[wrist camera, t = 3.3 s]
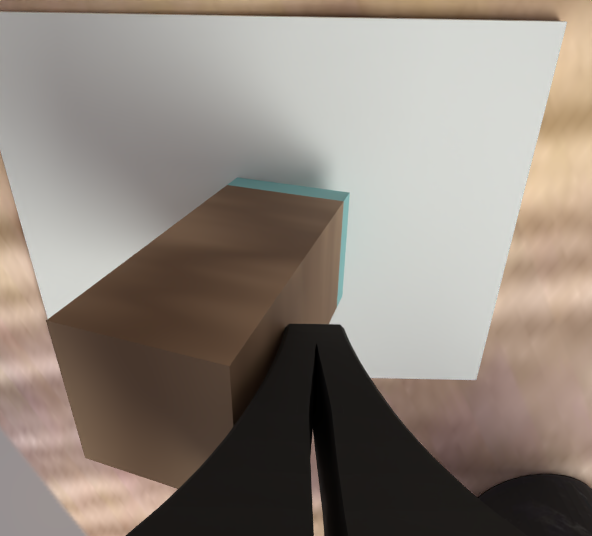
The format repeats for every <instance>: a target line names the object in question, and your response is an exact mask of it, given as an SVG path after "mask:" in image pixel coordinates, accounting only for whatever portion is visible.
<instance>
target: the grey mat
mask: <svg viewBox="0 0 592 536" xmlns="http://www.w3.org/2000/svg"><path fill="white" fill-rule="evenodd" d="M566 24H567V22H565V21H538V20H479V19H420V18H361V17H302V16H244V15H185V14H126V13H67V12H8V11H0V151H1V155H2V158H3V162H4V165H5V169H6V172H7V176H8V180H9V183H10V187H11V190H12V194H13V197H14V201H15V204H16V208H17V211H18V215H19V219H20V222H21V226H22V229H23V233H24V236H25V240H26V243H27V247H28V250H29V254H30V258H31V261H32V265H33V268H34V272H35V275H36V279H37V282H38V286H39V289H40V293H41V297H42V300H43V304H44V307H45V311H46V314H47V318H48V319H49V318H50V317H51V316H53V315H54V314H55V313H57V312H58V311H59V310H61V309H62V308H63V307H65V306H66V305H67V304H69V303H70V302H71V301H73V300H74V299H75V298H77V297H78V296H79V295H81V294H82V293H83V292H85V291H86V290H87V289H89V288H90V287H91V286H93V285H94V284H95V283H97V282H98V281H99V280H101V279H102V278H103V277H105V276H106V275H107V274H109V273H110V272H111V271H113V270H114V269H116V268H117V267H118V266H120V265H121V264H122V263H124V262H125V261H126V260H128V259H129V258H130V257H132V256H133V255H134V254H136V253H137V252H138V251H140V250H141V249H142V248H144V247H145V246H146V245H148V244H149V243H150V242H152V241H153V240H154V239H156V238H157V237H158V236H160V235H161V234H162V233H164V232H165V231H166V230H168V229H169V228H170V227H172V226H173V225H174V224H176V223H177V222H178V221H180V220H181V219H182V218H184V217H185V216H186V215H188V214H189V213H190V212H192V211H193V210H194V209H196V208H197V207H198V206H200V205H201V204H202V203H204V202H205V201H206V200H208V199H209V198H210V197H212V196H213V195H214V194H216V193H217V192H218V191H220V190H221V189H222V188H224V187H225V186H226V185H228V184H229V183H230V182H232V181H233V180H234V179H236V178H237V177H238V178H246V179H253V180H260V181H268V182H275V183H283V184H290V185H297V186H305V187H312V188H320V189H327V190H335V191H342V192H349V193H350V197H349V211H348V225H347V238H346V252H345V266H344V280H343V294H342V298H341V300H340V302H339V304H338V306H337V308H336V310H335V312H334V314H333V316H332V319H331V321H330V323H329V324H340V325H341V326H342V327H343V328H344V329H345V332H346V334H347V337H348V339H349V341H350V343H351V345H352V347H353V349H354V351H355V353H356V355H357V357H358V358H359V360H360V362H361V364H362V365H363V367H364V369H365V370H366V372H367V373H368V375H369V377H370V378H400V379H451V380H476V379H477V375H478V371H479V367H480V363H481V359H482V355H483V351H484V347H485V343H486V339H487V335H488V331H489V327H490V324H491V320H492V316H493V312H494V308H495V304H496V300H497V296H498V292H499V288H500V284H501V280H502V276H503V272H504V268H505V264H506V261H507V257H508V253H509V249H510V245H511V241H512V237H513V233H514V229H515V225H516V221H517V217H518V213H519V209H520V205H521V202H522V198H523V194H524V190H525V186H526V182H527V178H528V174H529V170H530V166H531V162H532V158H533V154H534V150H535V146H536V142H537V139H538V135H539V131H540V127H541V123H542V119H543V115H544V111H545V107H546V103H547V99H548V95H549V91H550V87H551V83H552V79H553V76H554V72H555V68H556V64H557V60H558V56H559V52H560V48H561V44H562V40H563V36H564V32H565V28H566Z"/></svg>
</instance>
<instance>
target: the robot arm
mask: <svg viewBox="0 0 592 536" xmlns="http://www.w3.org/2000/svg"><path fill="white" fill-rule="evenodd" d="M312 431H313V434H314V443H315V452H316V460H317V469H318V477H319V485H320V494H321V502H322V511H323V523H324V536H527V535H526V534H524V533H523V532H522V531H520V530H519V529H518V528H516V527H515V526H513V525H512V524H511V523H509V522H508V521H507V520H505V519H504V518H502V517H501V516H500V515H498V514H497V513H496V512H494V511H493V510H492V509H491V508H489V507H488V506H487V505H486V504H484V503H483V502H482V501H481V500H480V499H478V498H477V497H476V496H475V495H474V494H472V493H471V492H470V491H469V490H468V489H467V488H466V487H464V486H463V485H462V484H461V483H460V482H459V481H458V480H457V479H456V478H455V477H454V476H453V475H452V474H451V473H449V472H448V471H447V470H446V469H445V468H444V467H443V466H442V465H441V464H440V463H439V462H438V461H437V460H436V459H435V458H434V457H433V456H432V455H431V454H430V453H429V452H428V451H427V450H426V449H425V448H424V447H423V446H422V444H421V443H420V442H419V441H418V440H417V439H416V438H415V437H414V436H413V434H412V433H411V432H410V431H409V430H408V429H407V427H406V426H405V425H404V424H403V423H402V421H401V420H400V419H399V418H398V416H397V415H396V414H395V413H394V411H393V410H392V409H391V407H390V406H389V404H388V403H387V402H386V400H385V399H384V398H383V396H382V395H381V393H380V392H379V390H378V389H377V388H376V386H375V385H374V383H373V381H372V380H371V378H370V377H369V375H368V373H367V372H366V370H365V369H364V367H363V365H362V364H361V362H360V360H359V358H358V357H357V355H356V353H355V351H354V349H353V347H352V345H351V343H350V341H349V339H348V337H347V334H346V332H345V329H344V328H343V327H342V326H341V325H340V324H289V325H287V326H286V327H285V330H284V335H283V338H282V341H281V344H280V346H279V349H278V351H277V354H276V356H275V358H274V360H273V362H272V364H271V366H270V368H269V370H268V372H267V374H266V376H265V378H264V380H263V382H262V384H261V385H260V387H259V389H258V390H257V392H256V394H255V395H254V397H253V398H252V400H251V402H250V403H249V405H248V407H247V408H246V410H245V411H244V413H243V414H242V415H241V417H240V418H239V420H238V421H237V423H236V424H235V425H234V427H233V428H232V429H231V431H230V432H229V433H228V435H227V436H226V437H225V438H224V440H223V441H222V442H221V443H220V444H219V446H218V447H217V448H216V449H215V450H214V452H213V453H212V454H211V455H210V456H209V458H208V459H207V460H206V461H205V462H204V463H203V464H202V465H201V466H200V468H199V469H198V470H197V471H196V472H195V473H194V474H193V475H192V476H191V477H190V478H189V479H188V480H187V481H186V482H185V483H184V484H183V485H182V486H181V487H180V488H179V489H178V490H177V491H176V492H175V493H174V494H173V495H172V496H171V497H170V498H169V499H168V500H166V501H165V502H164V503H163V504H162V505H161V506H160V507H159V508H158V509H156V510H155V511H154V512H153V513H152V514H151V515H149V516H148V517H147V518H146V519H145V520H144V521H142V522H141V523H140V524H139V525H138V526H136V527H135V528H134V529H133V530H132V531H131V532H129V533H128V534H127V535H126V536H314V532H313V512H312V489H311V464H310V455H311V443H312Z"/></svg>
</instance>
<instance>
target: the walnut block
mask: <svg viewBox="0 0 592 536" xmlns="http://www.w3.org/2000/svg"><path fill="white" fill-rule="evenodd" d="M349 197H350V193H349V192H342V191H335V190H327V189H320V188H312V187H305V186H297V185H290V184H283V183H275V182H268V181H260V180H253V179H246V178H238V177H237V178H236V179H234V180H233V181H232V182H230V183H229V184H228V185H226V186H225V187H224V188H222V189H221V190H220V191H218V192H217V193H216V194H214V195H213V196H212V197H210V198H209V199H208V200H206V201H205V202H204V203H202V204H201V205H200V206H198V207H197V208H196V209H194V210H193V211H192V212H190V213H189V214H188V215H186V216H185V217H184V218H182V219H181V220H180V221H178V222H177V223H176V224H174V225H173V226H172V227H170V228H169V229H168V230H166V231H165V232H164V233H162V234H161V235H160V236H158V237H157V238H156V239H154V240H153V241H152V242H150V243H149V244H148V245H146V246H145V247H144V248H142V249H141V250H140V251H138V252H137V253H136V254H134V255H133V256H132V257H130V258H129V259H128V260H126V261H125V262H124V263H122V264H121V265H120V266H118V267H117V268H116V269H114V270H113V271H111V272H110V273H109V274H107V275H106V276H105V277H103V278H102V279H101V280H99V281H98V282H97V283H95V284H94V285H93V286H91V287H90V288H89V289H87V290H86V291H85V292H83V293H82V294H81V295H79V296H78V297H77V298H75V299H74V300H73V301H71V302H70V303H69V304H67V305H66V306H65V307H63V308H62V309H61V310H59V311H58V312H57V313H55V314H54V315H53V316H51V317H50V318H49V319H47V320H46V322H47V325H48V329H49V332H50V336H51V339H52V343H53V346H54V350H55V353H56V357H57V360H58V364H59V368H60V371H61V375H62V378H63V382H64V385H65V389H66V392H67V396H68V399H69V403H70V406H71V410H72V413H73V417H74V420H75V424H76V427H77V431H78V434H79V438H80V441H81V445H82V448H83V452H84V455H85V458H87V459H90V460H93V461H96V462H99V463H102V464H105V465H108V466H111V467H114V468H117V469H120V470H123V471H126V472H129V473H132V474H135V475H138V476H141V477H144V478H147V479H150V480H153V481H156V482H159V483H162V484H165V485H168V486H171V487H174V488H177V489H179V488H180V487H181V486H182V485H183V484H184V483H185V482H186V481H187V480H188V479H189V478H190V477H191V476H192V475H193V474H194V473H195V472H196V471H197V470H198V469H199V468H200V466H201V465H202V464H203V463H204V462H205V461H206V460H207V459H208V458H209V456H210V455H211V454H212V453H213V452H214V450H215V449H216V448H217V447H218V446H219V444H220V443H221V442H222V441H223V440H224V438H225V437H226V436H227V435H228V433H229V432H230V431H231V429H232V428H233V427H234V425H235V424H236V423H237V421H238V420H239V418H240V417H241V415H242V414H243V413H244V411H245V410H246V408H247V407H248V405H249V403H250V402H251V400H252V398H253V397H254V395H255V394H256V392H257V390H258V389H259V387H260V385H261V384H262V382H263V380H264V378H265V376H266V374H267V372H268V370H269V368H270V366H271V364H272V362H273V360H274V358H275V356H276V354H277V351H278V349H279V346H280V344H281V341H282V338H283V335H284V330H285V327H286V326H287V325H289V324H329V323H330V321H331V319H332V316H333V314H334V312H335V310H336V308H337V306H338V304H339V302H340V300H341V298H342V294H343V280H344V266H345V252H346V238H347V225H348V211H349Z"/></svg>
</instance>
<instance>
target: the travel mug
mask: <svg viewBox="0 0 592 536" xmlns="http://www.w3.org/2000/svg"><path fill="white" fill-rule="evenodd" d="M478 499H480V500H481V501H482V502H483V503H484V504H486V505H487V506H488V507H489V508H491V509H492V510H493V511H494V512H496V513H497V514H498V515H500V516H501V517H502V518H504V519H505V520H507V521H508V522H509V523H511V524H512V525H513V526H515V527H516V528H518V529H519V530H520V531H522V532H523V533H524V534H526V535H527V536H592V489H591V488H590V487H588V486H587V485H586V484H584V483H582V482H581V481H578V480H576V479H573V478H570V477H566V476H561V475H551V474H539V475H530V476H524V477H520V478H516V479H512V480H509V481H506V482H504V483H501V484H499V485H497V486H495V487H493V488H492V489H490V490H488V491H487V492H485V493H484V494H483V495H481V496H480V497H479V498H478Z"/></svg>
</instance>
